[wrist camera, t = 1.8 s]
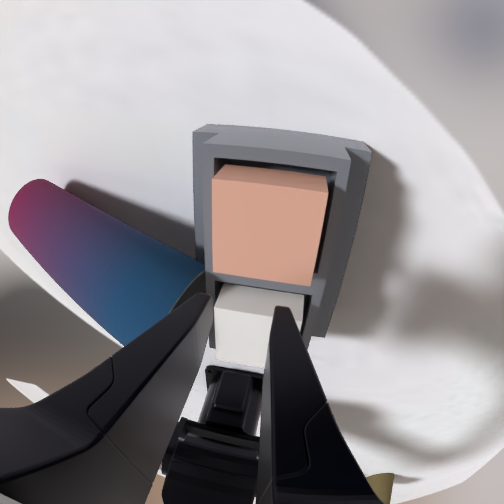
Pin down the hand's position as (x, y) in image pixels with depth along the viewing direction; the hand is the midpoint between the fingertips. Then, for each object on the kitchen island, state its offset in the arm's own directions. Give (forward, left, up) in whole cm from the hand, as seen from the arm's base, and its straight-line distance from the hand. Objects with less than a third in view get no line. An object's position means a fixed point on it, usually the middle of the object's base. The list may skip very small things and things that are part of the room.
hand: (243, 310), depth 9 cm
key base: (-3, 0, -11) cm, 11 cm away
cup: (-2, +19, -8) cm, 20 cm away
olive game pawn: (-55, -28, -11) cm, 63 cm away
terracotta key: (0, 0, -6) cm, 6 cm away
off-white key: (-7, 0, -6) cm, 9 cm away
